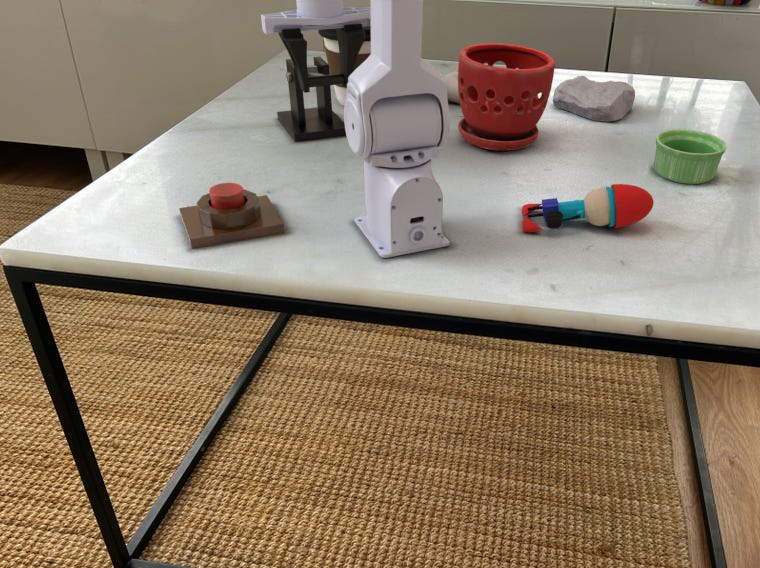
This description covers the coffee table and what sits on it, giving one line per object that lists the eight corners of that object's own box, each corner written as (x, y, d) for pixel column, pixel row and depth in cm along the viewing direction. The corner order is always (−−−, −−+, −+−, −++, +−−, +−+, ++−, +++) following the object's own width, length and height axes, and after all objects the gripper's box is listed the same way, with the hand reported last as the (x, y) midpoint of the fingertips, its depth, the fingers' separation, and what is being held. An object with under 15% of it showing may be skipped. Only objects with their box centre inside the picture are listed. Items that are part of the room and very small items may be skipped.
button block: (268, 204, 86) (264, 180, 84) (284, 233, 80) (281, 208, 78) (181, 217, 82) (175, 193, 80) (192, 249, 77) (186, 224, 75)
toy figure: (524, 248, 82) (659, 234, 80) (521, 207, 79) (660, 192, 78) (522, 223, 88) (646, 209, 87) (518, 184, 86) (647, 169, 84)
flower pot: (480, 163, 98) (485, 71, 90) (441, 130, 107) (443, 45, 100) (562, 150, 102) (574, 62, 95) (518, 120, 111) (525, 38, 104)
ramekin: (638, 162, 100) (644, 130, 97) (696, 157, 101) (704, 127, 99) (669, 189, 93) (677, 156, 90) (731, 183, 95) (740, 151, 92)
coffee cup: (354, 86, 122) (351, 9, 115) (405, 100, 117) (404, 21, 110) (309, 102, 115) (302, 21, 108) (360, 118, 110) (357, 34, 103)
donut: (433, 105, 116) (494, 109, 115) (433, 83, 114) (495, 87, 113) (445, 86, 124) (503, 91, 123) (445, 66, 122) (504, 70, 120)
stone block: (612, 135, 112) (637, 106, 117) (614, 106, 109) (639, 77, 114) (544, 122, 117) (571, 94, 123) (543, 94, 114) (571, 67, 119)
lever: (346, 88, 95) (344, 69, 94) (309, 92, 93) (306, 72, 92) (323, 81, 104) (321, 64, 103) (290, 85, 102) (287, 67, 101)
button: (241, 195, 81) (239, 180, 80) (248, 208, 79) (246, 193, 78) (209, 199, 80) (206, 185, 79) (214, 213, 78) (212, 198, 77)
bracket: (349, 136, 104) (345, 69, 98) (295, 142, 101) (288, 74, 96) (329, 113, 111) (324, 50, 105) (277, 119, 108) (270, 54, 103)
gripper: (364, -36, 92) (368, 74, 100) (250, -31, 87) (264, 84, 95) (383, -26, 87) (385, 89, 95) (263, -20, 82) (277, 100, 90)
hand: (326, 88), depth 95 cm, fingers closed on lever, 5 cm apart
